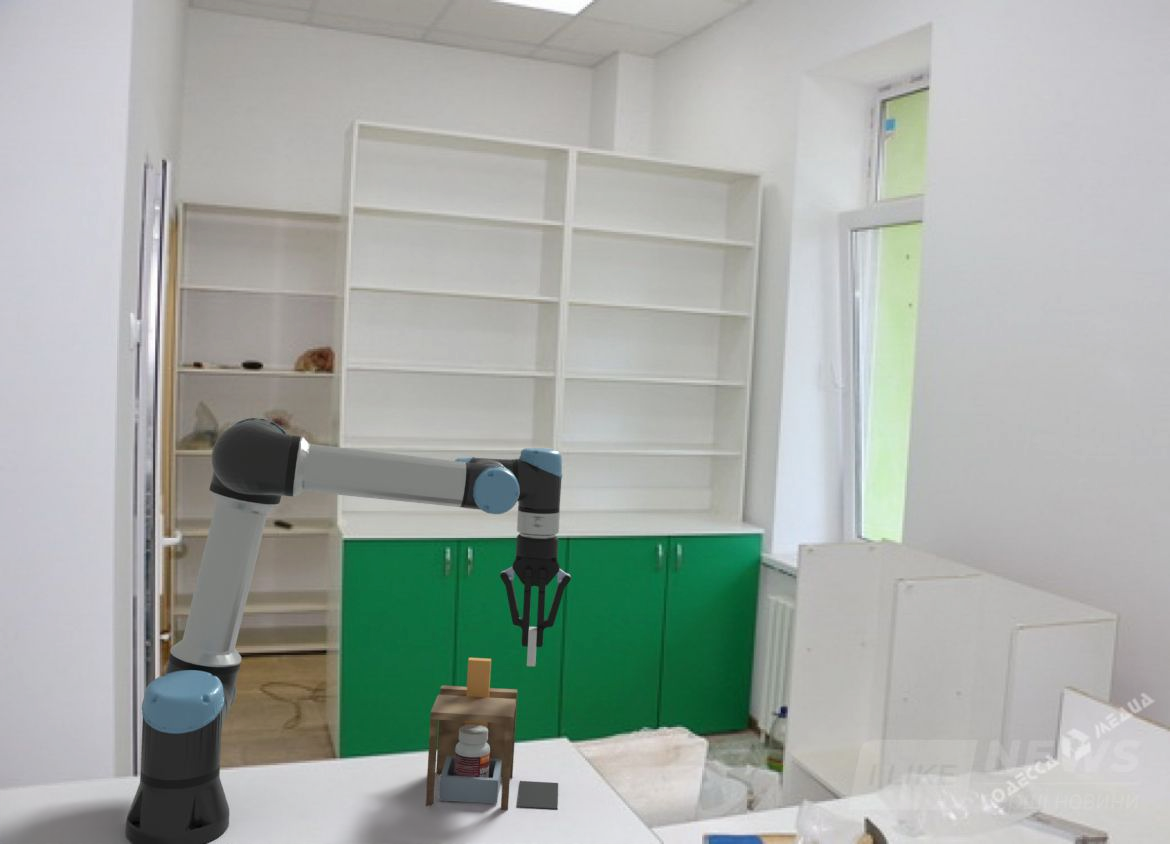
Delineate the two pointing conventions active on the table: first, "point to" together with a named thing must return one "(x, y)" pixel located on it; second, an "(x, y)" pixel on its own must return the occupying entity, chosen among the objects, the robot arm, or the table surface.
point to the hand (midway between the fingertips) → (531, 664)
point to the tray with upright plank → (480, 786)
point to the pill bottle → (472, 752)
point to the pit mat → (538, 795)
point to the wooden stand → (460, 708)
